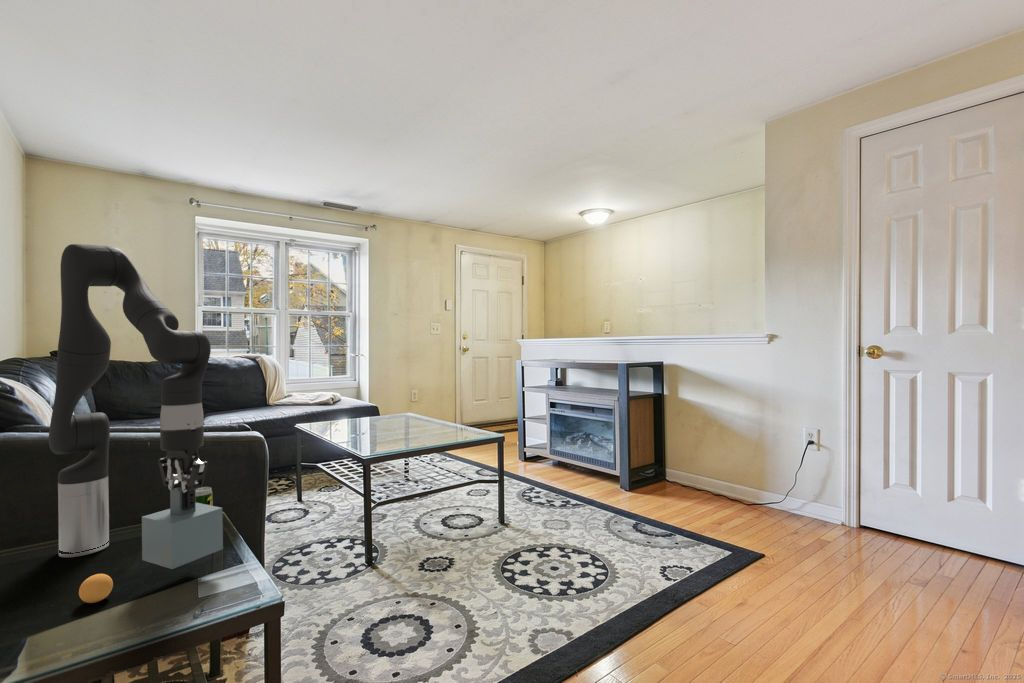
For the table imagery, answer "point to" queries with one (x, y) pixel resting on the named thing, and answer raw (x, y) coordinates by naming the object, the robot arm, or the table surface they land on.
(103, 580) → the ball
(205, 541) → the blue-grey box with knob
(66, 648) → the table surface
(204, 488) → the beer can
